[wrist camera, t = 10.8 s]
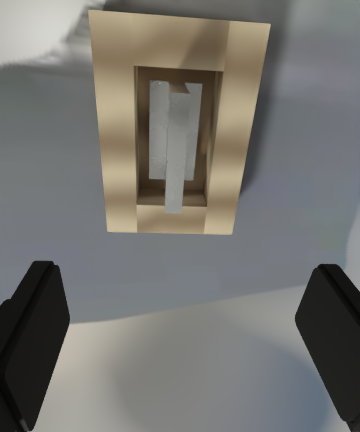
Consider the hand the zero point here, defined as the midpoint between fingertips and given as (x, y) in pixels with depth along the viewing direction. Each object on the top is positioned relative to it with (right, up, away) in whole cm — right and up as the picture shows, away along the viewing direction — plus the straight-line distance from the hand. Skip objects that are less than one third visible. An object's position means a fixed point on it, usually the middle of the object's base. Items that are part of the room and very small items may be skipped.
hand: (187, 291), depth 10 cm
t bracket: (-1, +12, +19) cm, 23 cm away
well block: (-1, +12, +20) cm, 23 cm away
